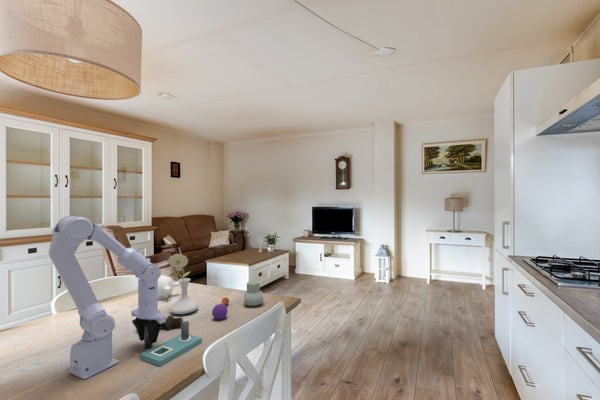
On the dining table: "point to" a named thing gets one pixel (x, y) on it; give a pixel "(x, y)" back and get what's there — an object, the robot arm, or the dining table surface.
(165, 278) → the piggy bank
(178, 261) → the flower in vase
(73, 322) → the dining table surface
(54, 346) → the dining table surface
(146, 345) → the pin
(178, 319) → the bolt
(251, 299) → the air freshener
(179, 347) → the pin board
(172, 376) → the dining table surface
